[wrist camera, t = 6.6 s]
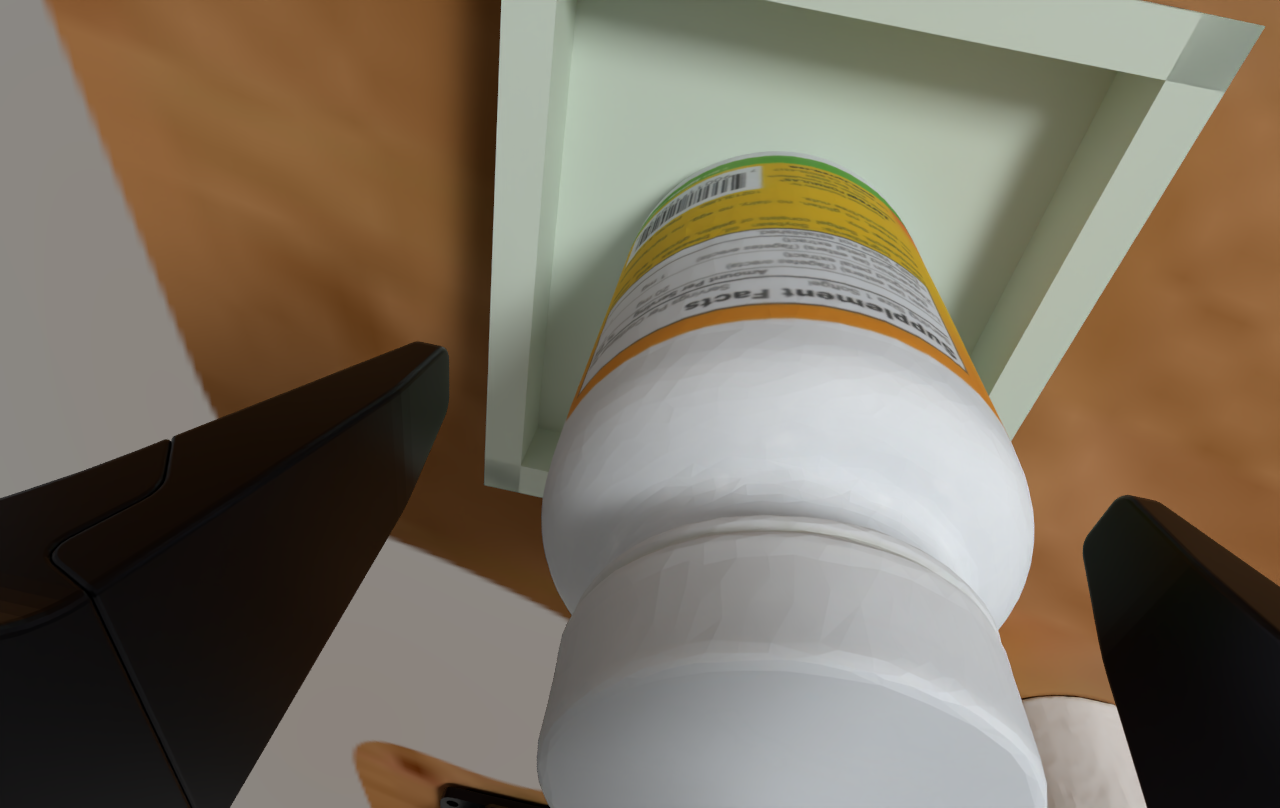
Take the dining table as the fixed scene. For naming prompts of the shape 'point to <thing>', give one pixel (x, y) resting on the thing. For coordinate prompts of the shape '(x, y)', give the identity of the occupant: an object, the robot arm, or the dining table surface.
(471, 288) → the dining table surface
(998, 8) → the tray
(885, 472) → the supplement bottle
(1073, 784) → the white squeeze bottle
